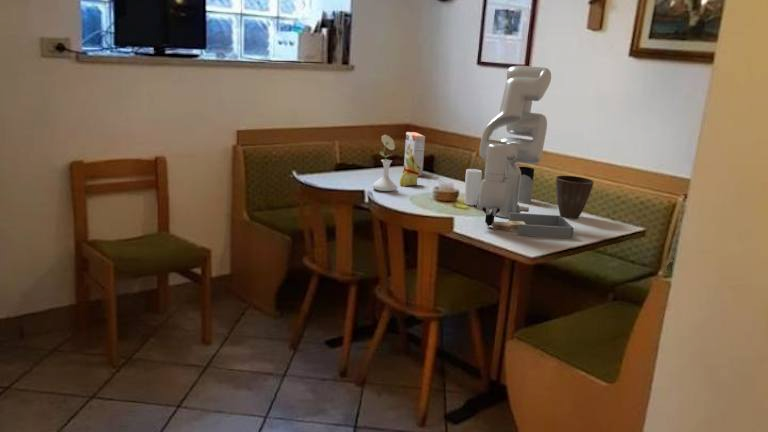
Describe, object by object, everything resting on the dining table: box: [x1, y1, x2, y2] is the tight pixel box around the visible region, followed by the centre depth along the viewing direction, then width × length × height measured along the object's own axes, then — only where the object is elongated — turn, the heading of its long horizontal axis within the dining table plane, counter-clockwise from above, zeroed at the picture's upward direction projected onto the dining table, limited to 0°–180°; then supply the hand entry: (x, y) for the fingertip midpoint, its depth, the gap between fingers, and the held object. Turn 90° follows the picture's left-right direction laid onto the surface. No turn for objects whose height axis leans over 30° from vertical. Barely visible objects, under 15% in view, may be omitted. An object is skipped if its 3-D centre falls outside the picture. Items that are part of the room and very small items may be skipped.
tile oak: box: [507, 220, 525, 233], centre depth 251 cm, size 6×6×2 cm
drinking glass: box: [464, 168, 483, 207], centre depth 284 cm, size 7×7×15 cm
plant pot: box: [555, 175, 594, 220], centre depth 274 cm, size 15×15×16 cm
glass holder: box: [518, 166, 535, 204], centre depth 301 cm, size 9×14×15 cm, turn 163°
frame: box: [508, 212, 575, 239], centre depth 251 cm, size 20×18×4 cm
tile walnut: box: [491, 220, 511, 232], centre depth 250 cm, size 6×6×2 cm
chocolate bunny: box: [399, 154, 420, 187], centre depth 316 cm, size 7×11×15 cm, turn 124°
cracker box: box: [403, 131, 426, 177], centre depth 344 cm, size 14×6×21 cm, turn 17°
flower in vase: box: [372, 134, 398, 192], centre depth 300 cm, size 13×11×25 cm
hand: (489, 224), depth 251 cm, fingers closed
